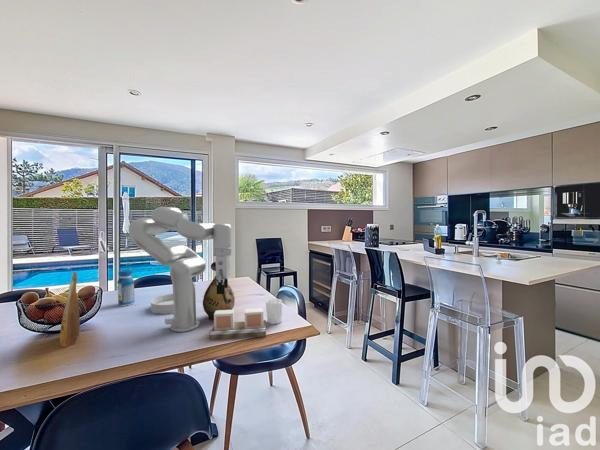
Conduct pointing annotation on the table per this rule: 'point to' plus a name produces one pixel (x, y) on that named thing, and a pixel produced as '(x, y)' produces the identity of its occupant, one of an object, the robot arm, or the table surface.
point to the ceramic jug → (217, 298)
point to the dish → (163, 304)
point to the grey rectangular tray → (238, 332)
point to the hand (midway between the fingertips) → (222, 290)
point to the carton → (254, 318)
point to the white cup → (274, 311)
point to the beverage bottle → (125, 288)
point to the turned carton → (223, 319)
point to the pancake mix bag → (70, 316)
